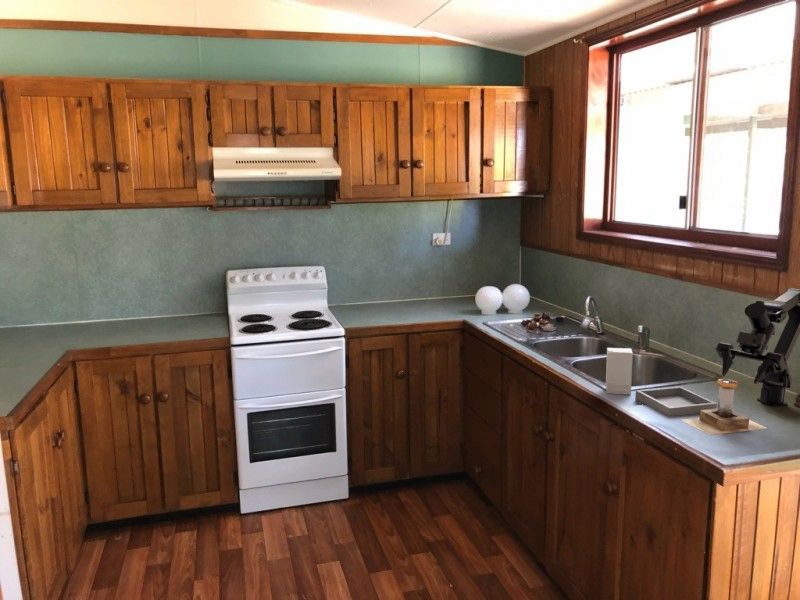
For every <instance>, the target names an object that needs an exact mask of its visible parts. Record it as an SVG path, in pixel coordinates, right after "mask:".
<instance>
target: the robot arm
mask: <svg viewBox="0 0 800 600" xmlns="http://www.w3.org/2000/svg"><path fill="white" fill-rule="evenodd" d="M798 303H800V289H799V288H792V287H791V288H787V290H786V292H784V293H783V294H781V295H780V296H778V297H777V298H776V299H774V300H766V301H764V300H756V301H755V302H754V303H750V304H749V305H747V306H746V307H745V309H744V314H745V317H746V319H747V322H748V325H749V327H751V330H750V332H745V331H739V332H738V334H737V337H736V343H738V344H739V345H738V347H739V348H740V349H741V350H739V349H735V348H734V346H733V344H732V343H727V342H718V343H716V346H715V351H716V353H717V355H718V356H719V358H720V359H721V360H722V371H721V372H722V373H721V375H722V376H723V377H725V376H726V375H727V374H728V372H729V370H730V368H731V367H732V365H733V363H734V361H733V360H734V359H735V357H739V358H743V359H748V360H750V361H755V362H756V361H758V362H760V364H759V365H758V367H757V369H756V370H757V374H756V375H755V378H754V379H753V383H754V385H756V384H758V383H759V384H761V383H762V385H761V386H762V387H761V389H760V397H757V398H756V400H757V401H759V402H761V403H764V404H765V405H768V406H770V407H775V406H785V405H788V402H786V401H785V397H786V396H785V394H786V389H791V388H792V384H793V378H792V375H791V372H790V371H791V370H790V369H791V368H790V365H789V362H788V361H789V359H790V357H791V354H792V352H793V349H794V347H795V345H796V342H797V340H798V339H799V336H800V306H798V305H797V304H798ZM787 317H788V318H787ZM786 318H787V320H786ZM785 320H786V323H785V325H784V327H783V330H782V331H781V333H780V336H779V338H778V341H777V343H776V345H775V347H774V350H773V352H771V351H767V350H768V349H769V345H768V344H769V342H770V340H771V338H772V336H774V335H776V332H775V331H776V327H775V325H774V323H776V324H782V322H784V321H785ZM765 351H767V353H765V355H764V352H765Z"/></svg>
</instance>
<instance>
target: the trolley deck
mask: <svg viewBox="0 0 800 600" xmlns="http://www.w3.org/2000/svg"><path fill="white" fill-rule="evenodd" d="M681 421H682V422H684V423H685V424H687V425H689V426H691V427H693V428H695V429H697V430H698V431H700V432H702V433H704V434H706V435H708V436H713V435H723V434H727V433H728V434H730V433H738V432H739V433H741V432H749V431H758V430H765V429H768V428H767V427H765V426H764V425H761V424H759V423H757V422H755V421H753V420H751V419H750V418H749V417H747V416H745V415H743V414H741V413H738V412H736V411H734V410H733V411H732V417H730V418H722V417H720V416H718V415H717V408H716V409H708V410H700V413H699V417H696V418H695V417H694V418H683V419H681Z"/></svg>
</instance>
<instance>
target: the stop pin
mask: <svg viewBox="0 0 800 600" xmlns="http://www.w3.org/2000/svg"><path fill="white" fill-rule="evenodd" d="M738 384H739V383H738V381H736V380H734V379H729V378H719V379H717V386H718V387H719V390H718V401H717V408H716V409H717V415H718V416H720V417H722V418H730V417H732V411H734V400H735V391H736V389H737V388H738V386H739V385H738Z"/></svg>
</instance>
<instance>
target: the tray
mask: <svg viewBox="0 0 800 600" xmlns="http://www.w3.org/2000/svg"><path fill="white" fill-rule="evenodd" d="M634 399H635V400H634V401H635V402H637V403H638V402H639V403H638V404H640V403H641V404H640V405H642V404H643V406H647V405H648V406H649V407H651V408H653V409H655V410H656V411H658V412H660V413H662V414H664V415H665V416H668V417H673V416H674V417H675V416H684V415H693V414H700V410H708V409H717V407H718V402H716V401H712V400H711V399H708V398H706V397H704V396H702V395H699V394H697V393H695V392H693V391H692V390H689V389H687V388H685V387H684V386H683V387H682V386H671V387H658V388H650V389H649V388H648V389H639V390H635V398H634Z"/></svg>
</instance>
